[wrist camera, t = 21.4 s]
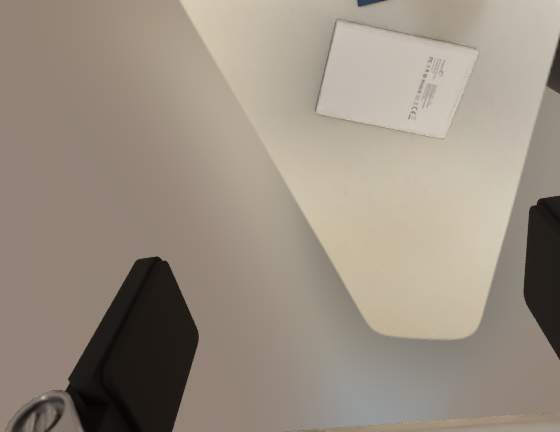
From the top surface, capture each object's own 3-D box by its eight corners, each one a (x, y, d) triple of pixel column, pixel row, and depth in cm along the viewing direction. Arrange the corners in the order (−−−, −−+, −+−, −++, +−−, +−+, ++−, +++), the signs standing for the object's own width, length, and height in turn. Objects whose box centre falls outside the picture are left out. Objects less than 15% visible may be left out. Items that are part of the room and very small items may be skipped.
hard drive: (336, 18, 38) (475, 47, 38) (315, 109, 42) (440, 134, 43) (337, 20, 36) (481, 51, 37) (315, 114, 41) (444, 141, 41)
